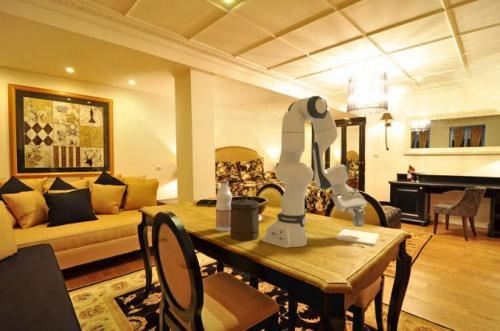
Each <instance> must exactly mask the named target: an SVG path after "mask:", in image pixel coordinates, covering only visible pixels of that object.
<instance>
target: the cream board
mask: <svg viewBox="0 0 500 331" xmlns="http://www.w3.org/2000/svg"><path fill="white" fill-rule="evenodd" d="M334 237H335V238H334V239H335V240H337V241H338V240H339V241H344V242H351V243H356V244H363V245H368V246H376V244H377V241H378V240H379V237H380V234H379V233H374V232H373V233H372V232H366V231H361V230H352V229H346V228H344V229H342V230H341V231H340V232H339V233H338V234H337V235H336V236H334Z"/></svg>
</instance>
